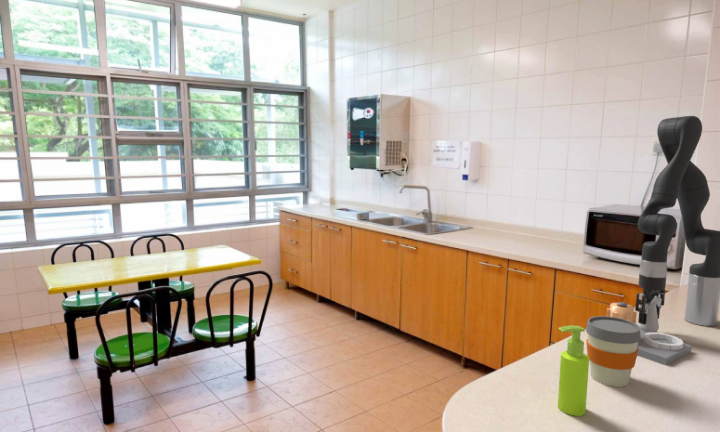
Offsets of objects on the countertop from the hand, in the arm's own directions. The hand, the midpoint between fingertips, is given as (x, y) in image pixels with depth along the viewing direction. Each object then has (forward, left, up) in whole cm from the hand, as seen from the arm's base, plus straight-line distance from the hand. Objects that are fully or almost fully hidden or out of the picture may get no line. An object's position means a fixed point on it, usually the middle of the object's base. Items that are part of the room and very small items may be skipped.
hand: (648, 321), depth 151 cm
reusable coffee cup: (+42, +10, -4) cm, 43 cm away
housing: (+13, +4, -4) cm, 14 cm away
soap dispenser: (+65, +13, -4) cm, 66 cm away
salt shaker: (0, 0, -4) cm, 4 cm away
